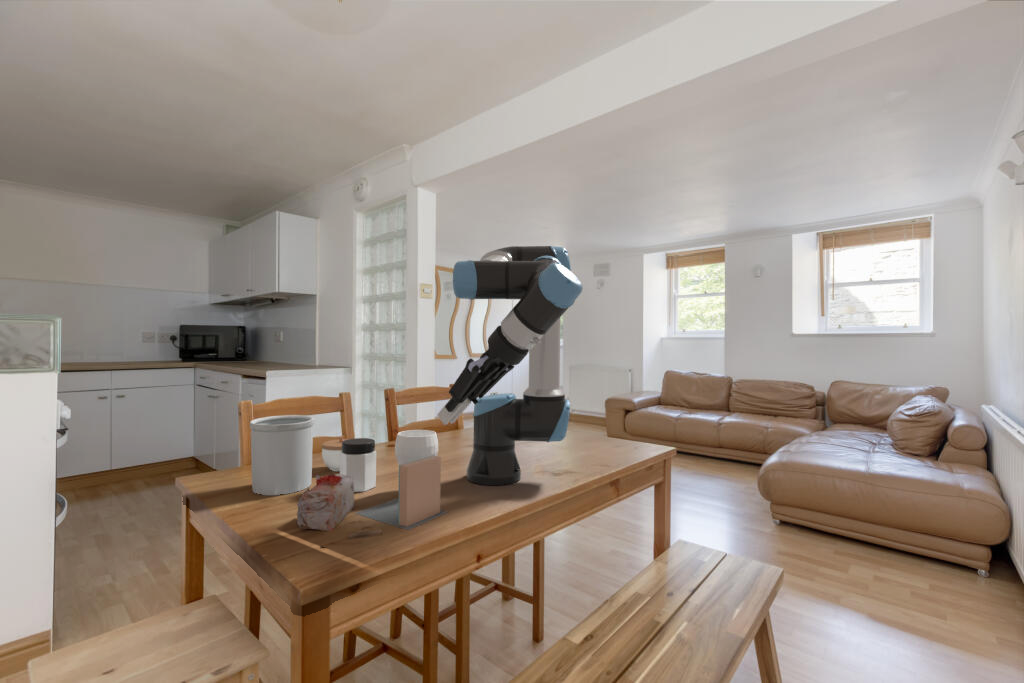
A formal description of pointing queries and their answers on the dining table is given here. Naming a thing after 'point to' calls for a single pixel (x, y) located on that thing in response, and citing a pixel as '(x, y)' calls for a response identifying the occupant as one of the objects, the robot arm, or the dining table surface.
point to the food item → (326, 502)
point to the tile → (419, 490)
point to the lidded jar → (332, 453)
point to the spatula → (363, 534)
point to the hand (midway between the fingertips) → (445, 418)
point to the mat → (392, 514)
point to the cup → (415, 445)
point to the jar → (359, 462)
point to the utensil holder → (281, 454)
